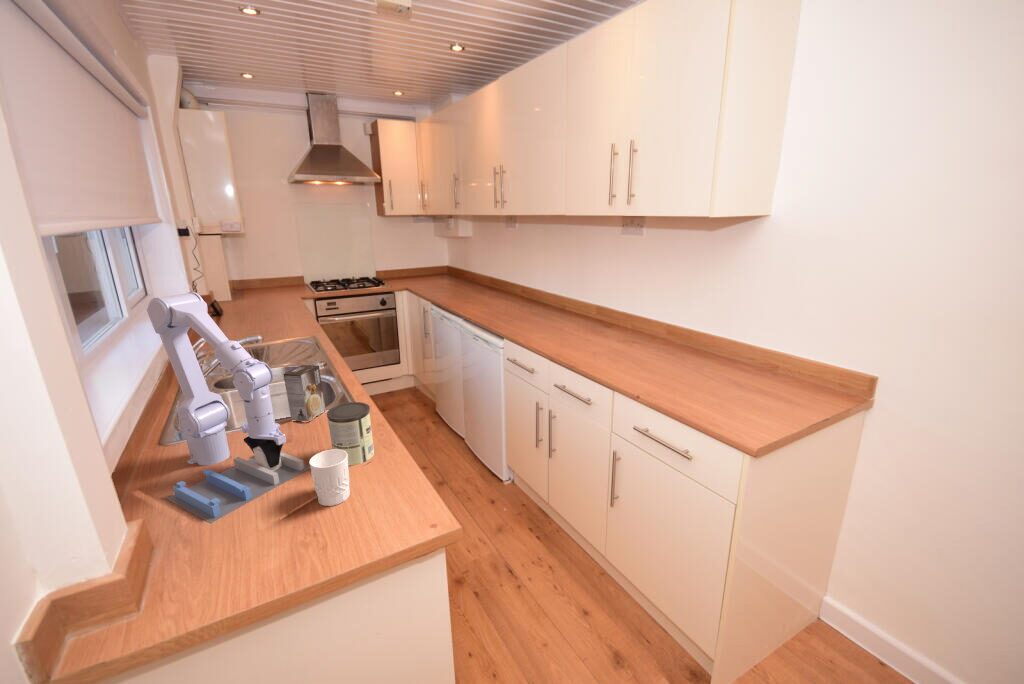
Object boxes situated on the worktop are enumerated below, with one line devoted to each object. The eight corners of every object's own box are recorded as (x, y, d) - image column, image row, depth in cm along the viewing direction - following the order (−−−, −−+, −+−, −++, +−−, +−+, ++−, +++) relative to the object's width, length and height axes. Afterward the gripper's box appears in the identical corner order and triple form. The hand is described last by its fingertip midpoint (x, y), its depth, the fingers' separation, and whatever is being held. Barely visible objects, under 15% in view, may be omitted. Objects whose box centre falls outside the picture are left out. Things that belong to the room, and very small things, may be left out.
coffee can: (334, 453, 120) (327, 404, 116) (374, 446, 123) (369, 399, 119) (332, 473, 110) (325, 421, 107) (375, 465, 114) (370, 414, 110)
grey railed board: (167, 502, 100) (163, 486, 99) (268, 453, 120) (265, 440, 119) (211, 527, 91) (207, 510, 90) (312, 470, 112) (310, 456, 110)
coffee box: (309, 410, 148) (302, 364, 144) (326, 411, 147) (320, 365, 142) (290, 421, 139) (282, 373, 135) (308, 423, 138) (301, 374, 134)
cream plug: (257, 470, 110) (252, 448, 109) (272, 462, 114) (268, 441, 112) (266, 474, 108) (262, 452, 107) (282, 466, 112) (278, 445, 110)
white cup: (343, 483, 106) (338, 445, 103) (358, 497, 101) (353, 457, 98) (309, 497, 101) (303, 458, 98) (323, 513, 95) (317, 471, 93)
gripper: (293, 412, 107) (301, 463, 111) (257, 401, 114) (266, 449, 117) (266, 424, 101) (275, 477, 105) (229, 412, 108) (239, 462, 112)
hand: (268, 463), depth 111 cm, fingers closed on cream plug, 4 cm apart
